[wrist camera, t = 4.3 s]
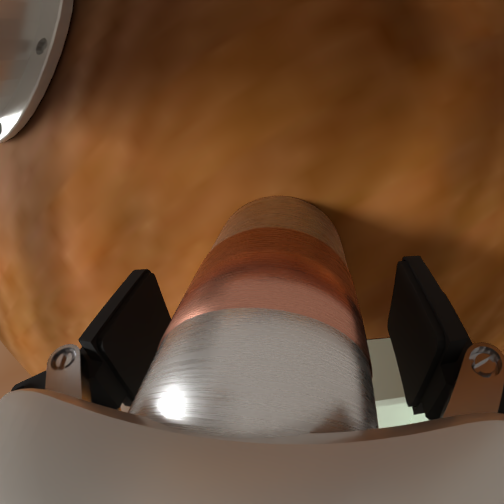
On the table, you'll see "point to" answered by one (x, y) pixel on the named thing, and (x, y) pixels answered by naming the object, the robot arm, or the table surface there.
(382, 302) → the table surface
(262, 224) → the tin can
